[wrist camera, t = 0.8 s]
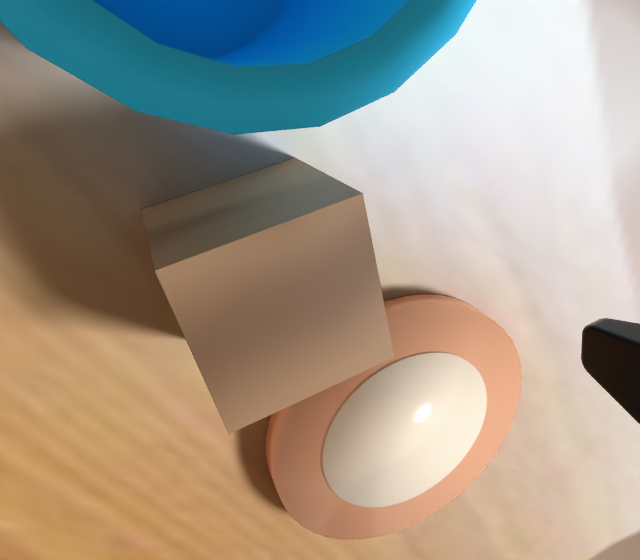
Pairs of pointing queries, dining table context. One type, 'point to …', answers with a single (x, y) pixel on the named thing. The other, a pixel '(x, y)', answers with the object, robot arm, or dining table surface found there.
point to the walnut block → (271, 286)
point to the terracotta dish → (399, 424)
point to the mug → (238, 53)
